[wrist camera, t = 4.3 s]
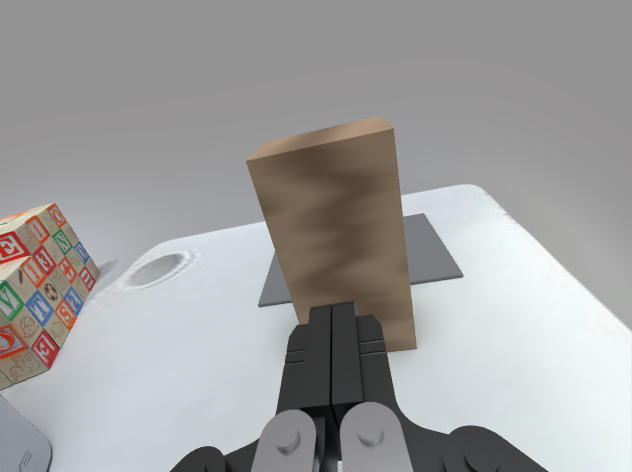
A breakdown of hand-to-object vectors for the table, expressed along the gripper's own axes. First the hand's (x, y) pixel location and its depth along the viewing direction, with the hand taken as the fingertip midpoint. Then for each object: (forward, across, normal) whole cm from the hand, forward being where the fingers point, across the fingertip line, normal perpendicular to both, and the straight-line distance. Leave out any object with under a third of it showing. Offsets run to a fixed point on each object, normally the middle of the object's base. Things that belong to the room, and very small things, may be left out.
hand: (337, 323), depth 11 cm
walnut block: (+11, 0, +12) cm, 16 cm away
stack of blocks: (+20, +38, +12) cm, 44 cm away
